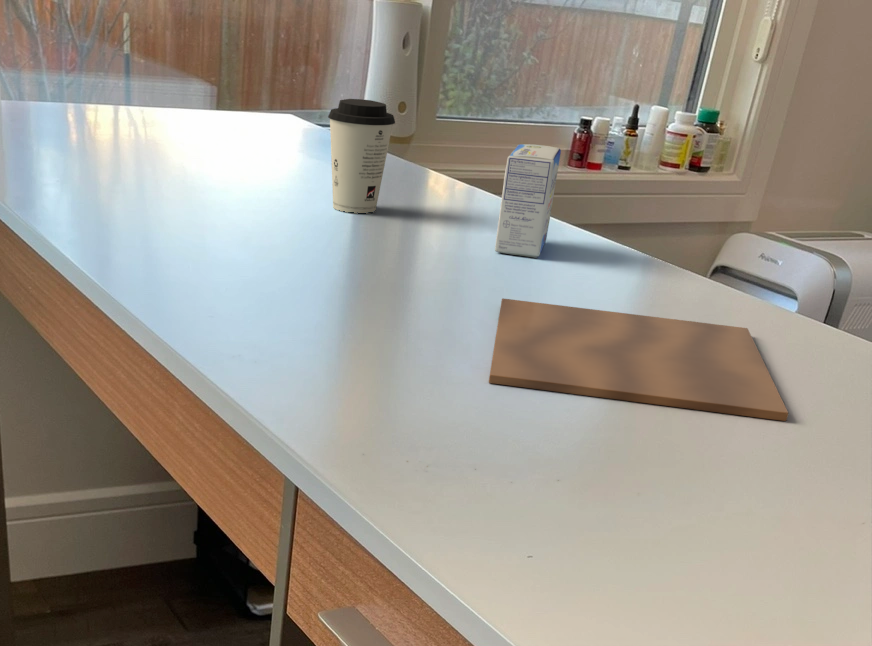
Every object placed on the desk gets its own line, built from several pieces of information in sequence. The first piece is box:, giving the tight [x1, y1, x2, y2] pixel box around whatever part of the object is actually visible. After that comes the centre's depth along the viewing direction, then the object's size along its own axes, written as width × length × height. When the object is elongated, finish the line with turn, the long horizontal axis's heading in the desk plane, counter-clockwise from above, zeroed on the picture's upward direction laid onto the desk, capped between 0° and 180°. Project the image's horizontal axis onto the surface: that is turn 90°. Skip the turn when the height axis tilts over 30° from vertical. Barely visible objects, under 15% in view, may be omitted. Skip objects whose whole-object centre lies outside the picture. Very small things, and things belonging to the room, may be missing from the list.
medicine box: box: [494, 143, 562, 259], centre depth 108 cm, size 8×4×9 cm, turn 166°
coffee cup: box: [327, 98, 396, 214], centre depth 116 cm, size 7×7×10 cm
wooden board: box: [488, 298, 789, 422], centre depth 83 cm, size 20×20×1 cm
